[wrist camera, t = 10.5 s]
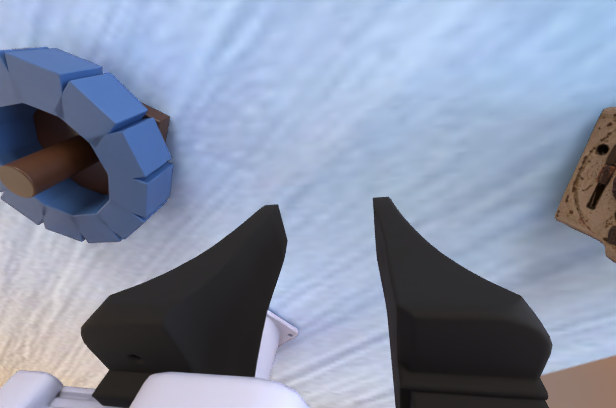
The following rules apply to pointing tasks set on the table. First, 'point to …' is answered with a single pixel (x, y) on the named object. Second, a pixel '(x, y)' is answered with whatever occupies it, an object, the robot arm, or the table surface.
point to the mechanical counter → (594, 187)
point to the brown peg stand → (62, 158)
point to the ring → (93, 128)
